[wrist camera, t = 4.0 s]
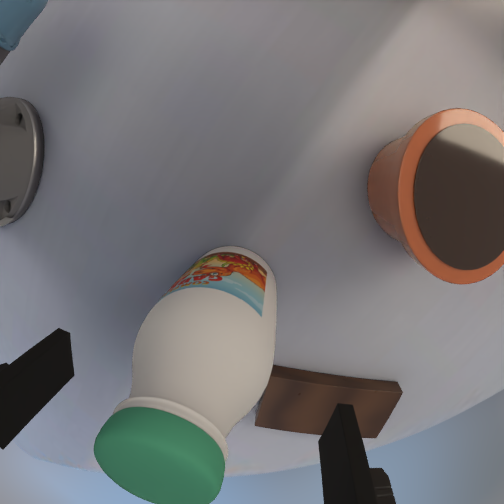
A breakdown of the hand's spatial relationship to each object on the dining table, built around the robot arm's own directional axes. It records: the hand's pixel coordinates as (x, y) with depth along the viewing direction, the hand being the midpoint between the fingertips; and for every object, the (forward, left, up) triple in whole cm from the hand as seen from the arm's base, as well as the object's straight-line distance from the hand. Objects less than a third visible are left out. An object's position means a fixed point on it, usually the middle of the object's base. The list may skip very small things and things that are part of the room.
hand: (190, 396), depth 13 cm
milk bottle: (0, 0, -15) cm, 15 cm away
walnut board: (+12, -10, -15) cm, 22 cm away
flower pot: (+14, +12, -15) cm, 24 cm away
